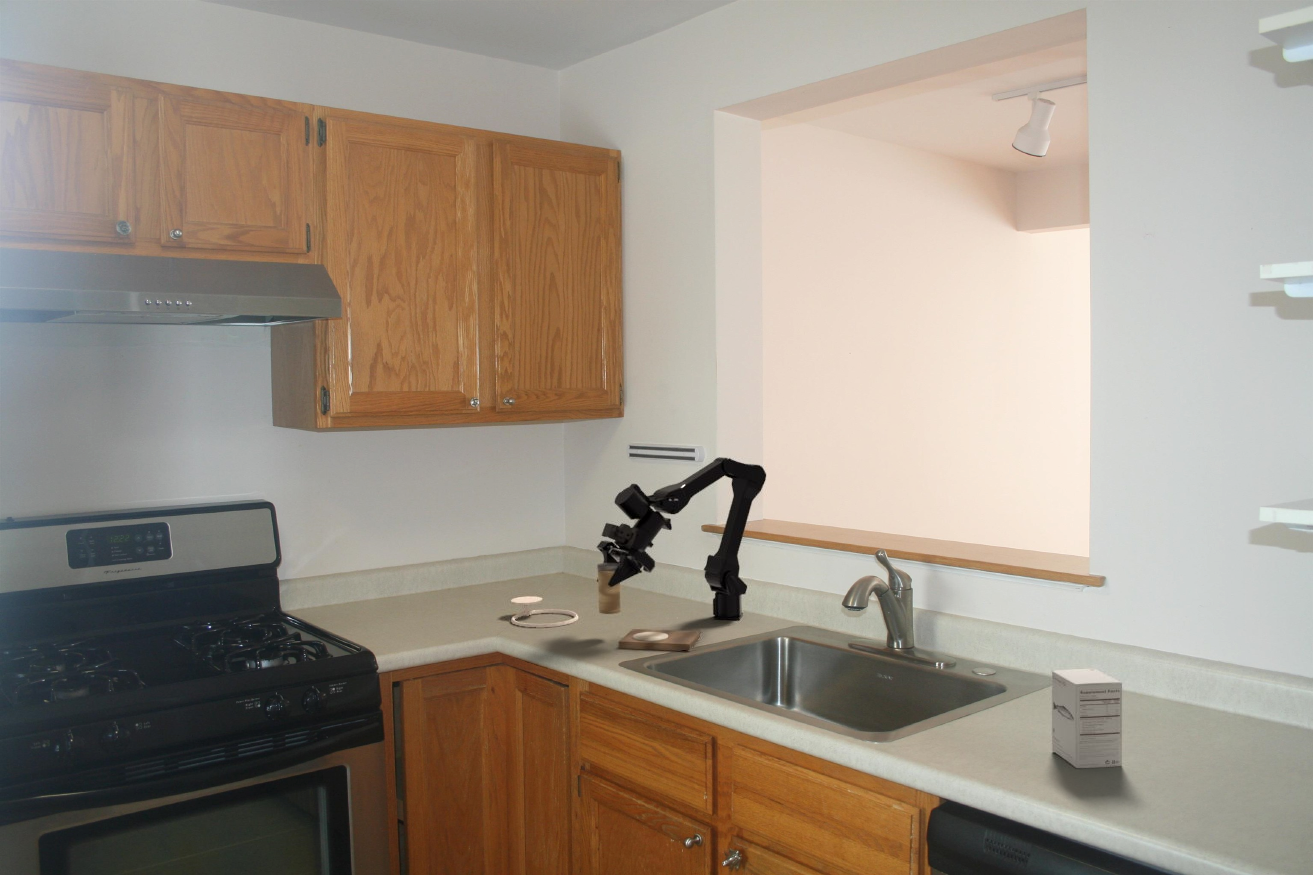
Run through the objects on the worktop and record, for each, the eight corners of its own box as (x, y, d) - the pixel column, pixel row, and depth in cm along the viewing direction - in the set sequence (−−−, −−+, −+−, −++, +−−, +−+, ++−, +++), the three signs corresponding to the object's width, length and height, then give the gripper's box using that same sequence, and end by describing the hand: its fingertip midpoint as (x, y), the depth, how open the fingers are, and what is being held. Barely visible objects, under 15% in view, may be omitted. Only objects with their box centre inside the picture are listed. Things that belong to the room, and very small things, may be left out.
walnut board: (700, 637, 225) (700, 630, 224) (689, 650, 213) (689, 643, 213) (632, 635, 228) (632, 627, 228) (619, 647, 217) (618, 640, 217)
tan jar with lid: (623, 609, 229) (622, 562, 229) (617, 614, 224) (616, 566, 224) (602, 608, 230) (601, 562, 230) (595, 613, 225) (594, 566, 225)
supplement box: (1050, 751, 149) (1050, 669, 149) (1096, 748, 150) (1096, 667, 149) (1075, 769, 142) (1074, 683, 141) (1123, 766, 142) (1123, 681, 142)
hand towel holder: (535, 614, 234) (489, 602, 249) (536, 632, 234) (490, 619, 250) (591, 603, 245) (544, 592, 261) (592, 620, 245) (545, 608, 261)
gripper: (603, 507, 236) (563, 557, 231) (642, 513, 220) (600, 567, 215) (632, 536, 241) (593, 586, 235) (672, 545, 225) (632, 598, 220)
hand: (603, 584), depth 226 cm, fingers closed on tan jar with lid, 5 cm apart
